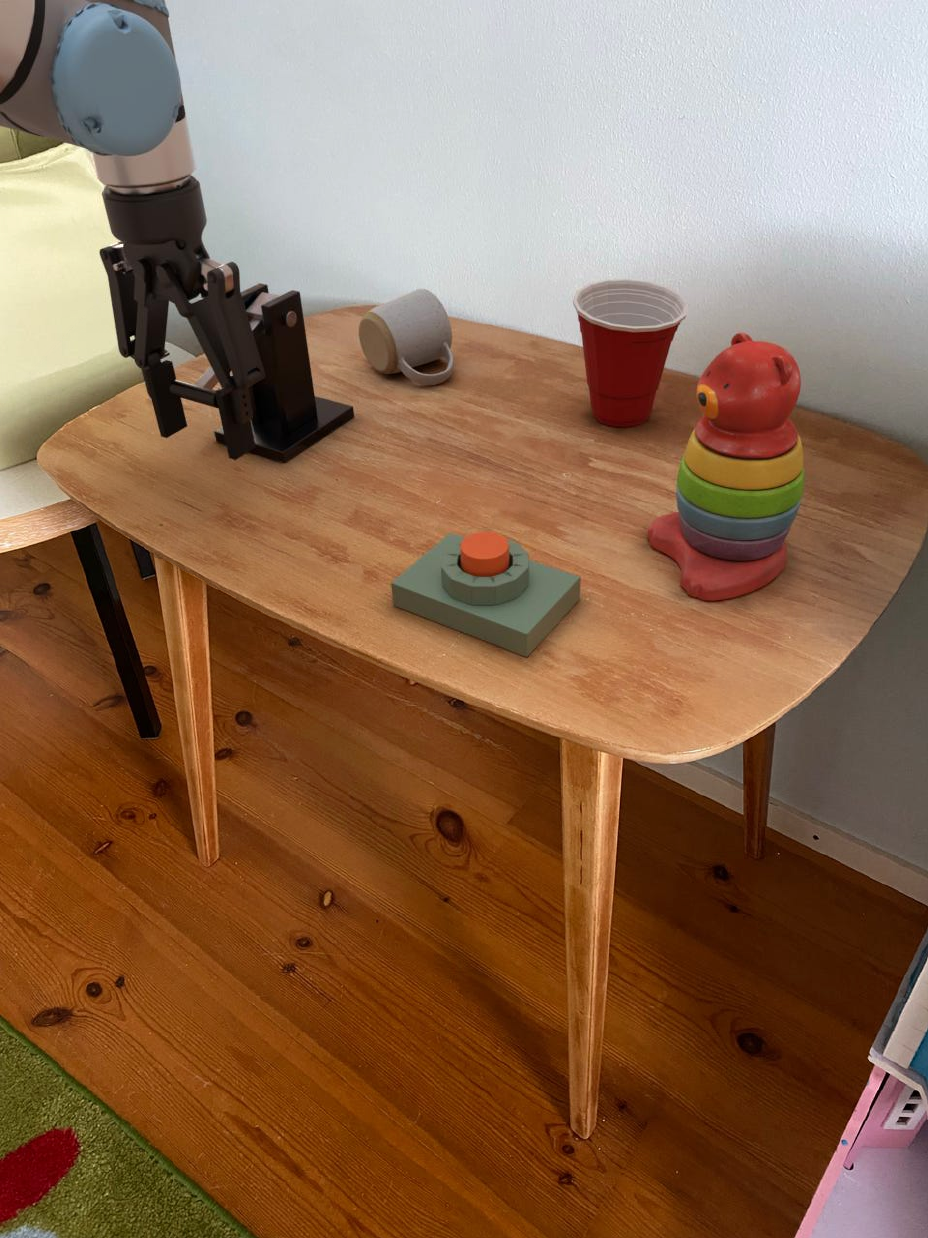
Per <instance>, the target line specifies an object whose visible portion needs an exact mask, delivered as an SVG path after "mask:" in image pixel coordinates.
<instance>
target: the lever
mask: <svg viewBox="0 0 928 1238" xmlns="http://www.w3.org/2000/svg"><path fill="white" fill-rule="evenodd" d="M279 296H280V295H277V294H274V293H270V292H269V293H264V292H262V293H261V294H260V295H259V296H258V297H257V299H256V300H255V301H254V302H253V303H252V304H251V305H250V306H249V308H248V309H247V310H246V312H247V315H248V318H249V320H250V325H251V329H252V332H253V335H254V339H255V340H256V338H257V337H258V336H259V335H260V334H261V333H265V327H264V321H263V315H262V309H261V305H263V304H265V303H267V302H269V301H271V300H273V299H275V298H277V297H279ZM265 334H266V333H265ZM218 384H219V381H218V379H217V377H216V375H215V373H214V371H213V369H212V367H211V365H210V366H208V367H207V369H206V370H205V371H204V372H203V373H202V375H201V376H200V377H199V378H198V379H197V380H196V381H195V383H194V384H193V383H189V382H187V381H183V380H179V379H176V380H174V381H172V382H171V384H170V387H169V390H170V393H171V394H172V395H173V396H177V397H180V398H181V399H183V400H188V401H191V402H194V403H197V404H201V405H204V406H208V407H211V408H214V409H219V408H218V403H217V399H216V394H215V391H216V390H214V388H215V387H216V386H217V385H218Z"/></svg>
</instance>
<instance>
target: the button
mask: <svg viewBox="0 0 928 1238" xmlns="http://www.w3.org/2000/svg"><path fill="white" fill-rule="evenodd" d="M460 551H461V567H462V569H463V570H464V572H465V573H467V574H470V575H473V576H476V577H492V576H495V575H499V574H502V573H504V572H505V571H506V570H507V569H508V567H509V543H508V541H507V538H506V537H505V536H503V535H502V534H499V533H497V532H492V531H479V532H475V533H472V534H468V535H467V536H465V537H464V539H463V541H462V542H461V545H460Z"/></svg>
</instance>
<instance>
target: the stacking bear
mask: <svg viewBox="0 0 928 1238" xmlns="http://www.w3.org/2000/svg"><path fill="white" fill-rule="evenodd" d="M699 377H700V378H699V380H698V382H697V385H696V395H695V396H696V400H697V403H698V406H699V409H700V410H701V412H702V414H703V415H702V416H701V418H700V419H698V421H697V422H696V423H695V427H694V429H693V430H692V432H691V434H690V436H689V439H688V441H687V444H686V446H685V450H684V454H683V456H682V458H681V461H680V464H679V468H678V472H677V476H676V487H675V488H676V490H675V491H676V493H675V495H676V506H677V511H676V512H671V513H668V514H664V515H661V516H659V517H657V518H655V519H654V520H653V522H652V523H651V524H650V526H649V528H648V529H647V534H646V539H648V541H649V544H650V546H651V547H652V548H654V550H657V551H659V552H661V553H663V554H665V555H667V556H668V557H670V558H671V559H673V560H674V561H675V562H676V563H677V564H678V566H679V568H680V571H681V572H680V578H679V584H680V586H681V588H682V589H684V590H685V591H686V593H687V595H689V596H691V597H694V598H698V599H700V600H703V601H721V600H727V599H732V598H736V597H740V596H743V595H746V594H749V593H752V592H754V591H756V590H758V589H760V588H763V587H764V586H766V585H768V584H769V583H771V582H772V581H773V580H774V579H775V578H777V577H778V575H779V574H780V573H781V572H782V571H783V570H784V568H785V566H786V564H787V558H788V556H787V555H788V552H787V545H786V541H785V540H786V539H787V537H788V534H789V532H790V531H791V527H792V526H793V523H794V522H795V519H796V517H797V515H798V512H799V509H800V507H801V503H802V499H803V494H804V488H805V487H804V485H805V468H804V451H803V450H804V449H803V444H802V439H801V436H800V434H799V433H798V430H797V428H796V426H795V424H794V422H793V421H792V420H791V419H790V418H789V417H790V415H791V414H792V412H793V411H794V409H795V407H796V405H797V402H798V401H799V397H800V393H801V387H802V378H801V377H802V376H801V371H800V368H799V365H798V363H797V361H796V360H795V358H794V356H793V355H792V354H791V353H790V352H789V351H788V350H787V349H785V348H784V347H782V346H780V345H778V344H776V343H772V342H768V341H763V340H753V339H752V337H751V336H750V335H749V334H748V333H744V332H738V333H736V334H735V335H733V336H732V338H731V340H730V346H728V347H727V348H725V349H724V350H722V351H720V352H719V354H717V355H716V356H715V357H714V358H713V359H712V361H710V363H709V364H708V366H706V368H705V369H704V371H703V373H702V374H701V376H699Z"/></svg>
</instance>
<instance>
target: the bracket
mask: <svg viewBox="0 0 928 1238" xmlns="http://www.w3.org/2000/svg"><path fill="white" fill-rule="evenodd" d="M240 292H241V295H242V299H243V302H244V305H245V309H246V310H247V309H248V308H249V306H250V305H251V304H252V303H253V302H254V301H255V300H256V299H257V297H258V296H259V295H260V294H261V293H262V292H264V293H269V294H270V292H269V285H268V284H265V283H260V282H259V283H257V284H255V285H253V286H251V287H249V288H247V289H244V290H243V291H240ZM278 296H279V297H277V298H275V299H273V300H271V301H269V302H267V303H265V304H263V305H261V309H262V315H263V321H264V327H265V333H266V334H265V333H261V334H260V335H259V336H258V337H257V338H256V340H255V342H256V345H257V349H258V352H259V355H260V359H261V362H262V365H263V369H264V372H265V378H264V379H262V380H260V381H259V382H257V383H255V384H253V385H252V386H250V387H248V389H249V394H250V400H251V405H252V411H253V418H252V419H251V426H252V431H253V436H254V442H255V448H254V449H252V450H251V451H249V452H248V453H251V454H254V455H257V456H261V457H263V458H267V459H269V460H274V461H275V462H276V461H277V462H280V463H283V464H286V463H288V462H289V461H290V460H292V459H294V458H295V457H297V456H298V455H299V454H301V453H302V452H304V451H305V450H307V449H308V448H309V447H311V446H313V445H314V444H316V443H317V442H319V441H320V440H322V439H323V438H325V437H326V436H328V435H329V434H331V433H332V432H334V431H335V430H337V429H338V428H340V427H341V426H343V425H344V424H345V423H347V422H349V421H350V420H352V419H353V418H354V417H355V410H354V406H353V405H350V404H345V403H341V402H337V401H335V400H330V399H326V398H323V397H320V396H316V394H315V388H314V381H313V373H312V367H311V361H310V353H309V346H308V338H307V332H306V331H307V330H306V325H305V318H304V313H303V304H302V303H303V302H302V298H301V291H298V290H293V289H291V290H289V291H287V292H285V293H283V294H281V295H278ZM248 319H249V318H248ZM249 322H250V320H249ZM213 433H214V437H215V442H216V443H219V444H223V445H224V446H226V441H225V437H224V432H223V427H222V426H220V427H219V428H217V429H215V430H214V431H213Z"/></svg>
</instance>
